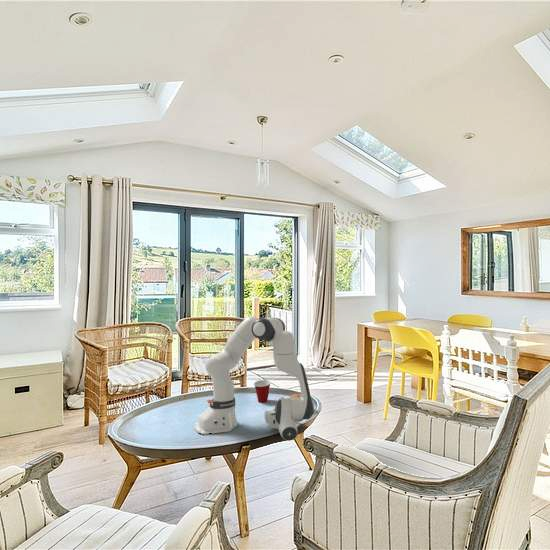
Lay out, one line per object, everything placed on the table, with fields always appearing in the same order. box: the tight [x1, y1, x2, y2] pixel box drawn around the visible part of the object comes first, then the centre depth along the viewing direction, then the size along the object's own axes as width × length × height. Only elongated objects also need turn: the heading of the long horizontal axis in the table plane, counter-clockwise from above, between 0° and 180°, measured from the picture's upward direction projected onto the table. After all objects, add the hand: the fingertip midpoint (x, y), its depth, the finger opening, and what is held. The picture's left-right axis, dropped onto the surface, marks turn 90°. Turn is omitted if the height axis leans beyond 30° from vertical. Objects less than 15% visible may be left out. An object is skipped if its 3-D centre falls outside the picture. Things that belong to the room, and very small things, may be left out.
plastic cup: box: [253, 379, 271, 404], centre depth 231 cm, size 11×11×12 cm
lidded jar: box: [288, 393, 302, 398], centre depth 216 cm, size 11×11×9 cm
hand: (282, 410), depth 199 cm, fingers open, 8 cm apart
